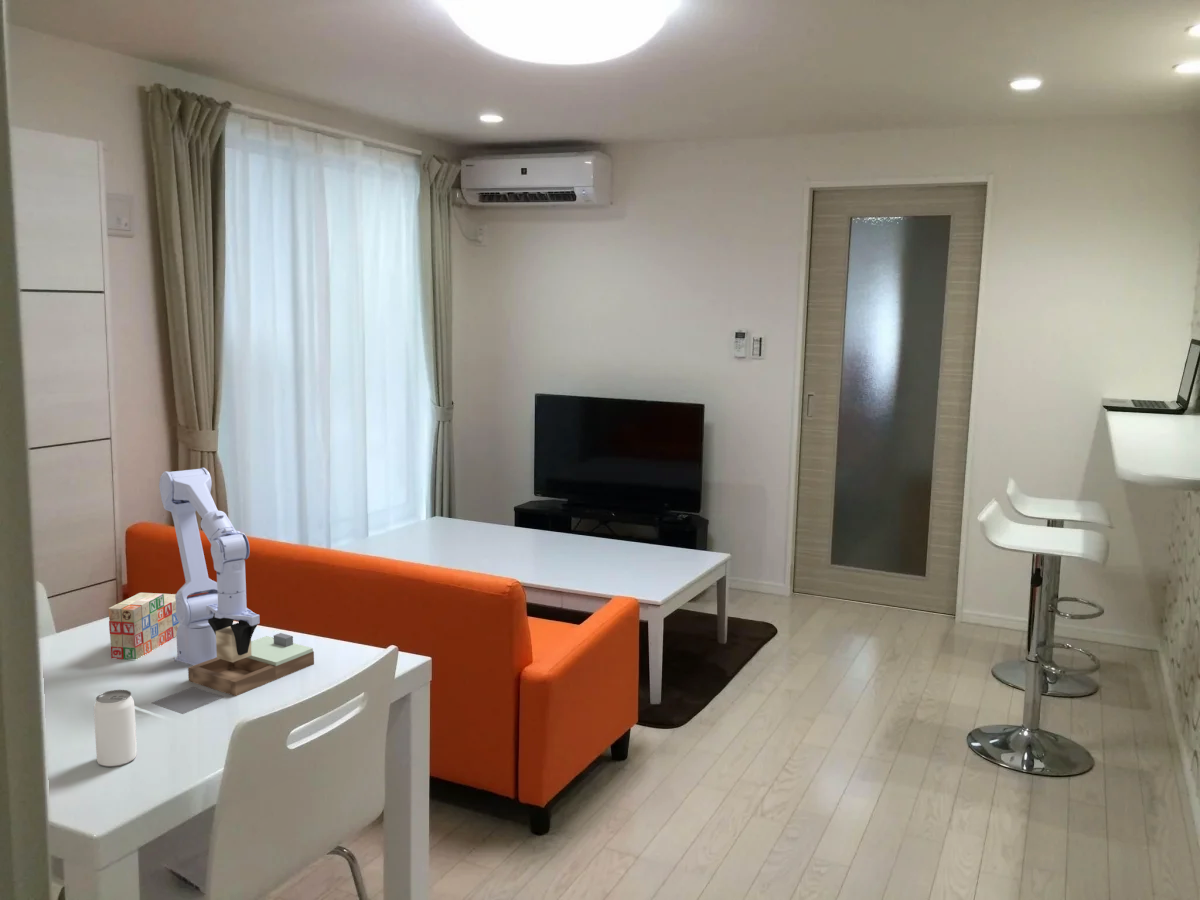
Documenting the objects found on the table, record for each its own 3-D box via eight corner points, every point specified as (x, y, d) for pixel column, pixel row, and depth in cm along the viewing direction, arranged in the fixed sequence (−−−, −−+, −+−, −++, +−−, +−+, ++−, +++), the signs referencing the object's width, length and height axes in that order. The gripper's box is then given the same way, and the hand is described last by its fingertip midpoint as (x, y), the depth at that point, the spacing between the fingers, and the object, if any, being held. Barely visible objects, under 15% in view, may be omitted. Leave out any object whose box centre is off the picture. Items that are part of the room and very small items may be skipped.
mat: (151, 705, 197) (150, 702, 197) (193, 688, 205) (193, 686, 205) (183, 716, 192) (182, 713, 192) (225, 699, 201) (225, 696, 200)
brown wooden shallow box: (188, 683, 208) (188, 667, 208) (268, 653, 227) (267, 639, 226) (236, 698, 201) (235, 682, 201) (314, 666, 219) (313, 651, 219)
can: (106, 751, 176) (102, 688, 175) (142, 750, 177) (139, 688, 175) (90, 768, 170) (86, 703, 168) (128, 767, 171) (125, 702, 169)
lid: (229, 652, 217) (229, 640, 217) (266, 639, 226) (266, 627, 226) (276, 665, 210) (275, 653, 209) (312, 651, 219) (312, 639, 218)
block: (216, 657, 208) (215, 631, 207) (235, 650, 212) (234, 624, 212) (232, 662, 206) (231, 635, 205) (251, 655, 210) (250, 628, 209)
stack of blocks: (164, 628, 243) (162, 581, 241) (187, 630, 242) (185, 582, 240) (110, 659, 222) (107, 607, 220) (136, 660, 221) (133, 608, 219)
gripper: (193, 589, 207) (196, 650, 209) (239, 600, 200) (241, 663, 202) (220, 581, 213) (223, 640, 215) (266, 592, 206) (268, 653, 208)
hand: (234, 651), depth 209 cm, fingers closed on block, 5 cm apart
